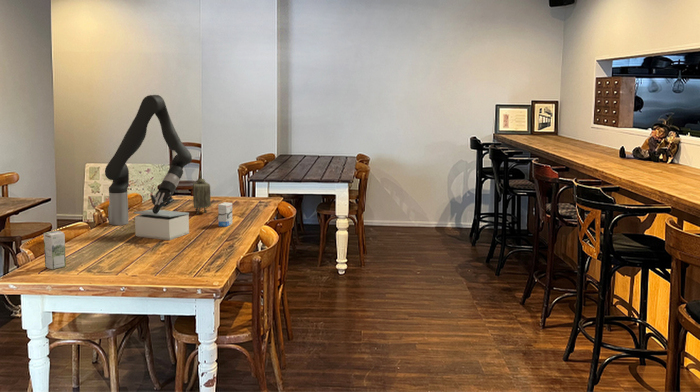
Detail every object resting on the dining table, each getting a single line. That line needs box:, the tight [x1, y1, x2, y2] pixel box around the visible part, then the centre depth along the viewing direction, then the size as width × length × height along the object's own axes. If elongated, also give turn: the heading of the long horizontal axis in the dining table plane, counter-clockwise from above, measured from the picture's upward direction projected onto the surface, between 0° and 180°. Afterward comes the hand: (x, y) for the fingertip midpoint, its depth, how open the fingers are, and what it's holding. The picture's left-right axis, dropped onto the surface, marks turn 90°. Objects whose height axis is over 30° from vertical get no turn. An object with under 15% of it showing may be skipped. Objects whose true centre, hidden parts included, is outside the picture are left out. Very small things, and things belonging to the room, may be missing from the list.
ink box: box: [217, 201, 233, 228], centre depth 331 cm, size 8×5×12 cm, turn 168°
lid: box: [133, 209, 190, 217], centre depth 304 cm, size 21×16×1 cm
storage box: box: [134, 213, 190, 241], centre depth 305 cm, size 20×16×10 cm
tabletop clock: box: [192, 170, 212, 215], centre depth 361 cm, size 14×9×25 cm, turn 17°
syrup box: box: [43, 230, 67, 270], centre depth 247 cm, size 6×6×14 cm
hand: (154, 212), depth 299 cm, fingers closed
